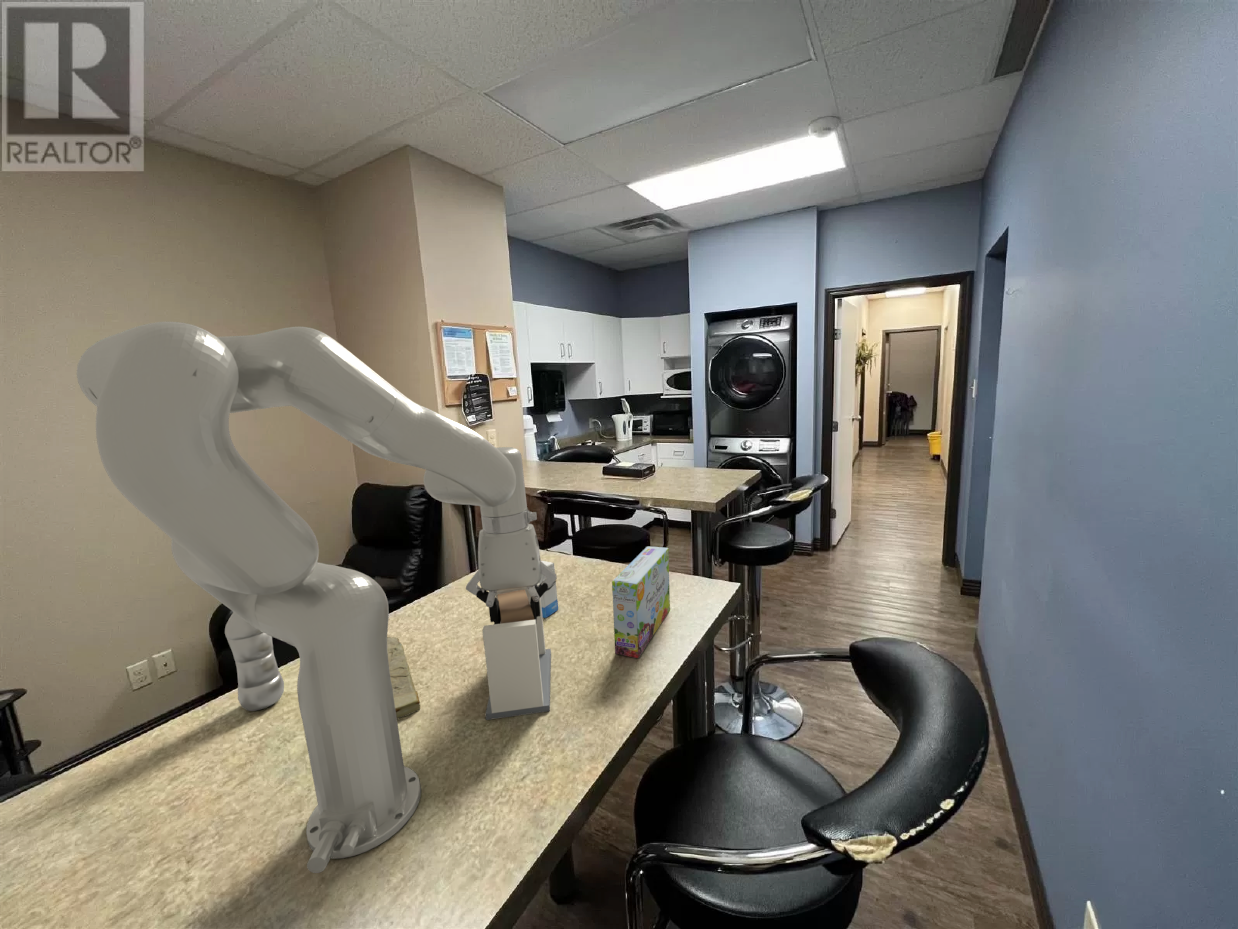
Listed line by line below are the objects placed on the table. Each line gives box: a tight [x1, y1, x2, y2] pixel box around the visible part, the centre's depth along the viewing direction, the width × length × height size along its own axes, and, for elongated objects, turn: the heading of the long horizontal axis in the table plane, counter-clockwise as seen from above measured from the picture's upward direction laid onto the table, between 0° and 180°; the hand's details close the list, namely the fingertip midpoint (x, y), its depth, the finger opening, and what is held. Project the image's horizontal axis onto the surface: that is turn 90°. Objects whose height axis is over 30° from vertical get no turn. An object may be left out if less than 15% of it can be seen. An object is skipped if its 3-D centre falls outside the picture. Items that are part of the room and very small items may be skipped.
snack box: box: [611, 546, 671, 659], centre depth 99 cm, size 21×6×15 cm, turn 158°
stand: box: [482, 583, 552, 721], centre depth 83 cm, size 17×10×15 cm, turn 7°
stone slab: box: [387, 636, 421, 720], centre depth 88 cm, size 12×4×30 cm
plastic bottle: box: [224, 611, 285, 712], centre depth 82 cm, size 6×7×20 cm
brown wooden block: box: [497, 589, 534, 624], centre depth 83 cm, size 12×5×4 cm, turn 18°
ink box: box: [539, 560, 559, 619], centre depth 111 cm, size 8×5×12 cm, turn 58°
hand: (516, 621), depth 83 cm, fingers closed on brown wooden block, 5 cm apart
